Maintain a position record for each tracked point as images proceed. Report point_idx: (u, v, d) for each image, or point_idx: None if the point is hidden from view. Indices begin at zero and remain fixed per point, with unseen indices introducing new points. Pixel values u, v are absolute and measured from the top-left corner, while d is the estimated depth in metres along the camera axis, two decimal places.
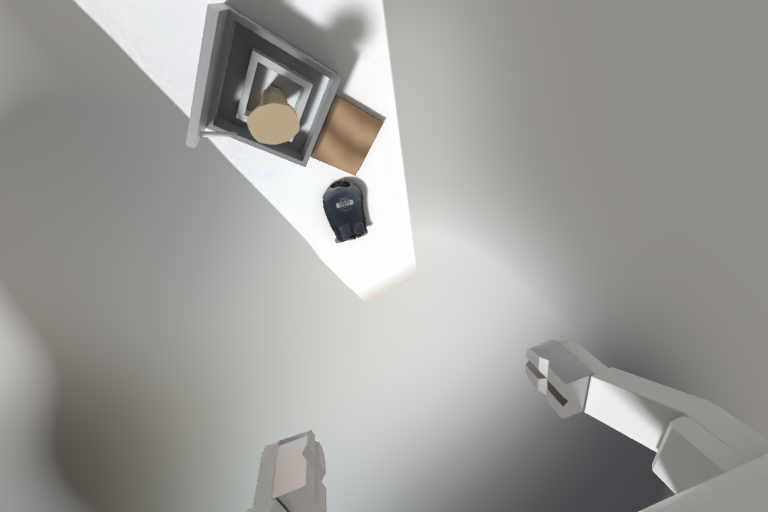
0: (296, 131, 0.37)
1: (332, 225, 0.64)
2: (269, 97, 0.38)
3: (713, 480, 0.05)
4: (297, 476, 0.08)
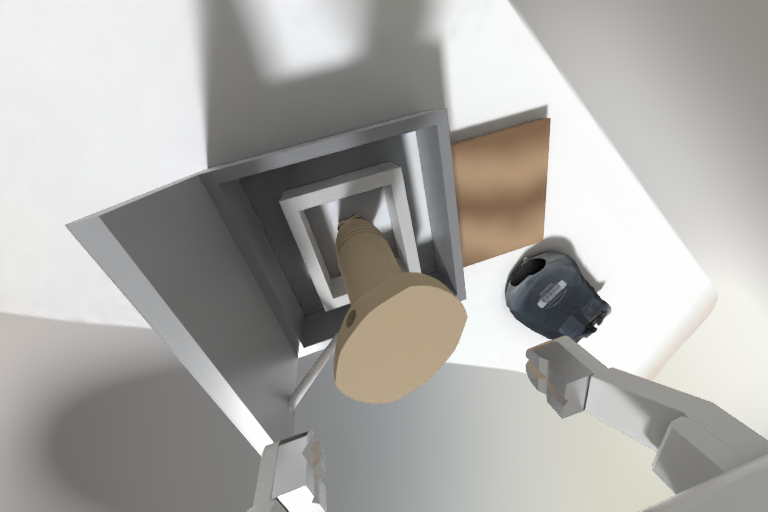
0: (461, 320, 0.11)
1: (545, 334, 0.34)
2: (349, 263, 0.16)
3: (713, 480, 0.05)
4: (297, 476, 0.08)
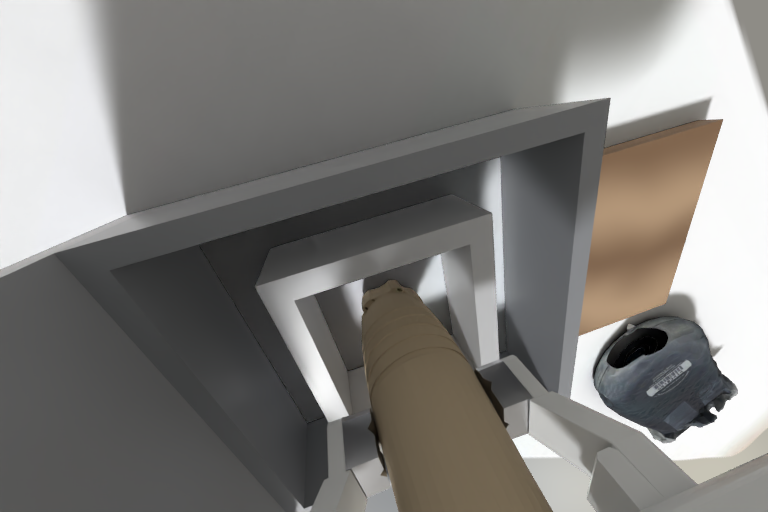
0: None
1: None
2: (413, 470, 0.07)
3: (713, 480, 0.05)
4: (368, 449, 0.08)
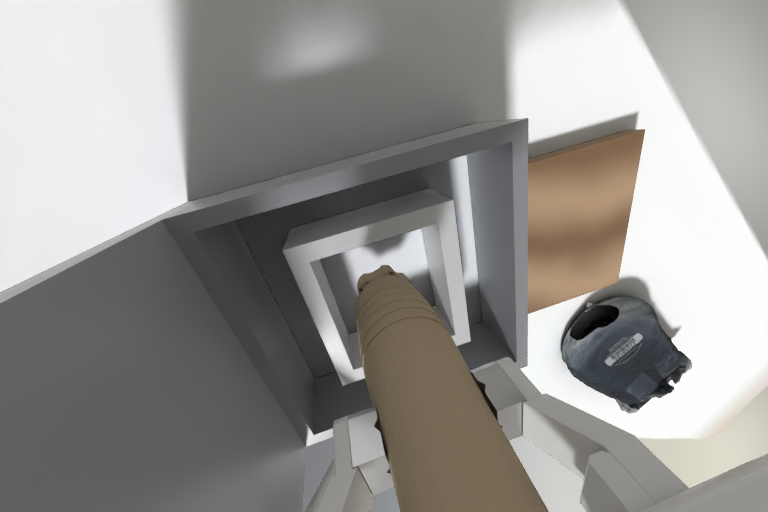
0: None
1: (608, 393, 0.28)
2: (395, 407, 0.08)
3: (713, 480, 0.05)
4: (374, 446, 0.08)
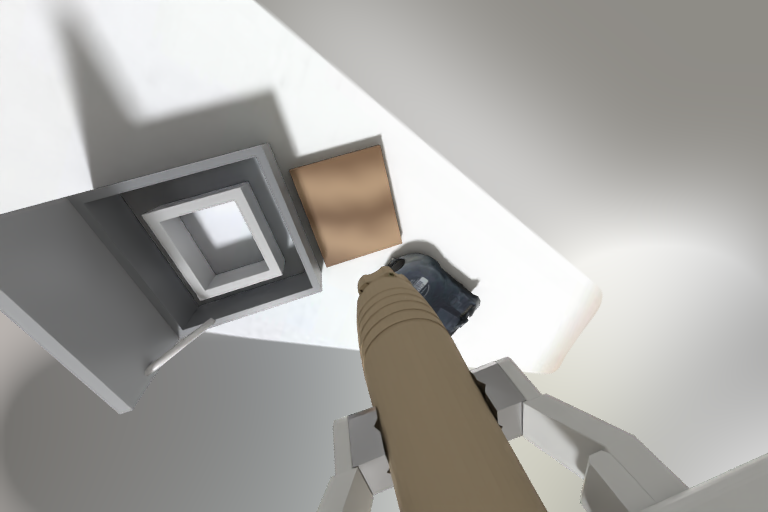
0: None
1: None
2: (396, 410, 0.08)
3: (713, 480, 0.05)
4: (374, 446, 0.08)
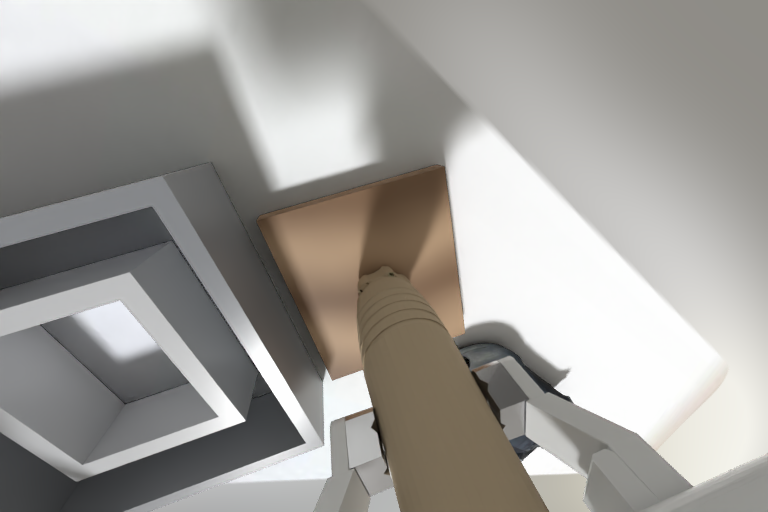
0: None
1: None
2: (396, 410, 0.08)
3: (713, 480, 0.05)
4: (371, 447, 0.08)
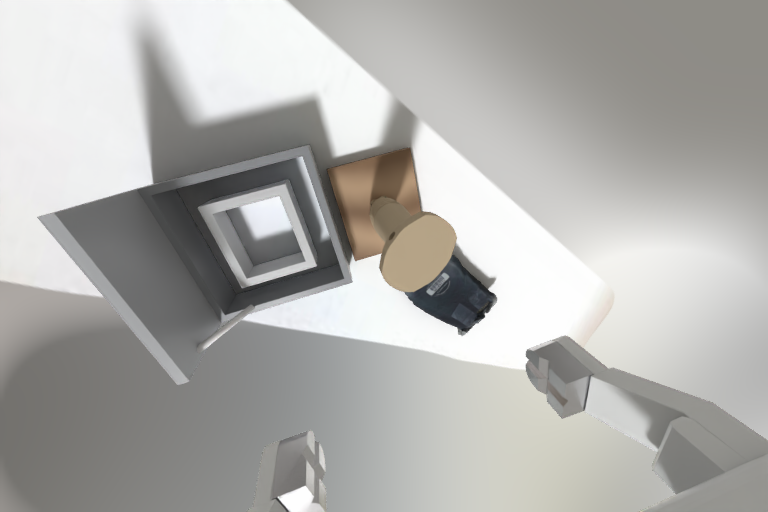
0: (453, 240, 0.20)
1: (441, 318, 0.42)
2: (384, 219, 0.25)
3: (713, 480, 0.05)
4: (297, 476, 0.08)
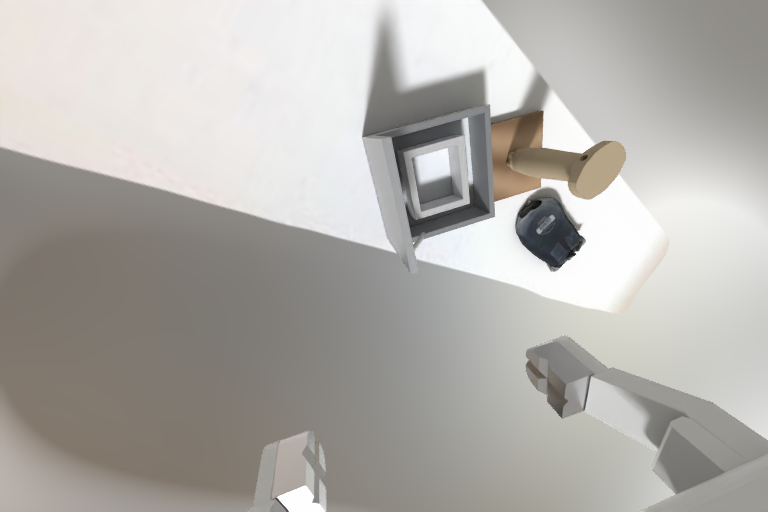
0: (623, 161, 0.30)
1: (541, 255, 0.52)
2: (550, 156, 0.35)
3: (713, 480, 0.05)
4: (297, 476, 0.08)
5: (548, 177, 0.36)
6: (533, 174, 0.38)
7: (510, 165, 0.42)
